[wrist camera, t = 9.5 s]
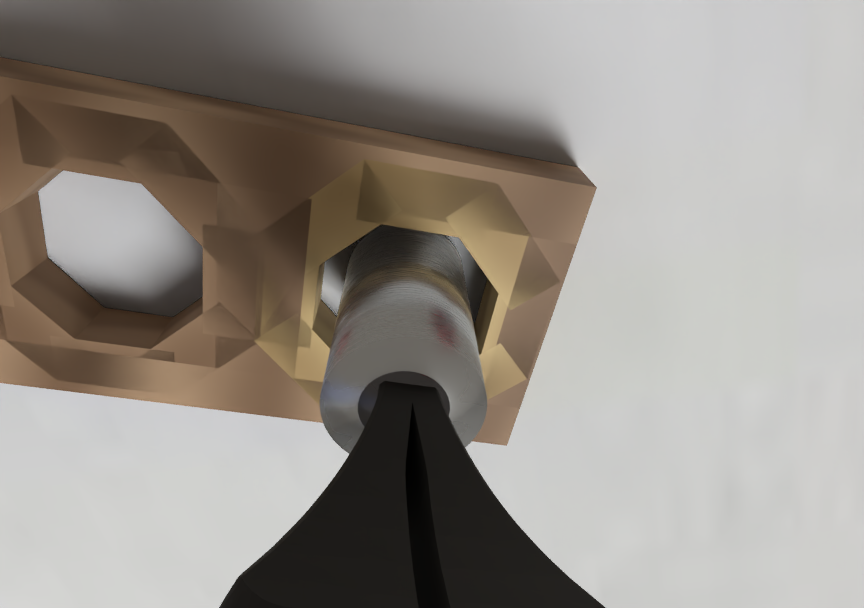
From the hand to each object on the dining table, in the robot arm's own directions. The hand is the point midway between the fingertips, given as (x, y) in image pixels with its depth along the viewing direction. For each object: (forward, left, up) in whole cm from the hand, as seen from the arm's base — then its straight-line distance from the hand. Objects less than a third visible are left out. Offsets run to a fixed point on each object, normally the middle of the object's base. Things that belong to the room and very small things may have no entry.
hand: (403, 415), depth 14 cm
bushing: (0, 0, -7) cm, 7 cm away
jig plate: (-5, 0, -7) cm, 8 cm away
